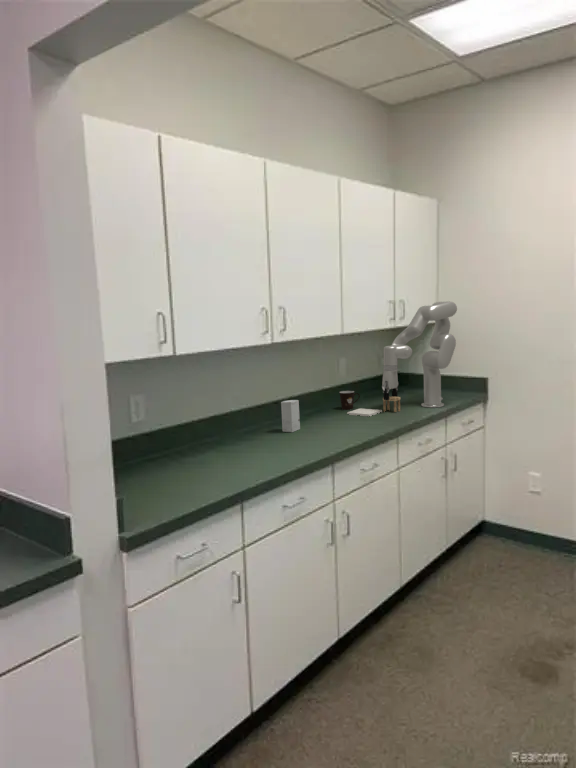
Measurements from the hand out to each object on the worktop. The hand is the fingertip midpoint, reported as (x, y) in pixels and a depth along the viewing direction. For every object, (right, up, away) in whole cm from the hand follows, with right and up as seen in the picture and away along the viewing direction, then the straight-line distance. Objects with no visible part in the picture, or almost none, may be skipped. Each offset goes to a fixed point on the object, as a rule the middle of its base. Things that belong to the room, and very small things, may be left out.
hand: (390, 398), depth 326 cm
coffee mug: (-21, -6, +16) cm, 27 cm away
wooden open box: (+1, -7, +1) cm, 7 cm away
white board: (-14, -8, -1) cm, 17 cm away
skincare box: (-55, -15, -37) cm, 68 cm away
